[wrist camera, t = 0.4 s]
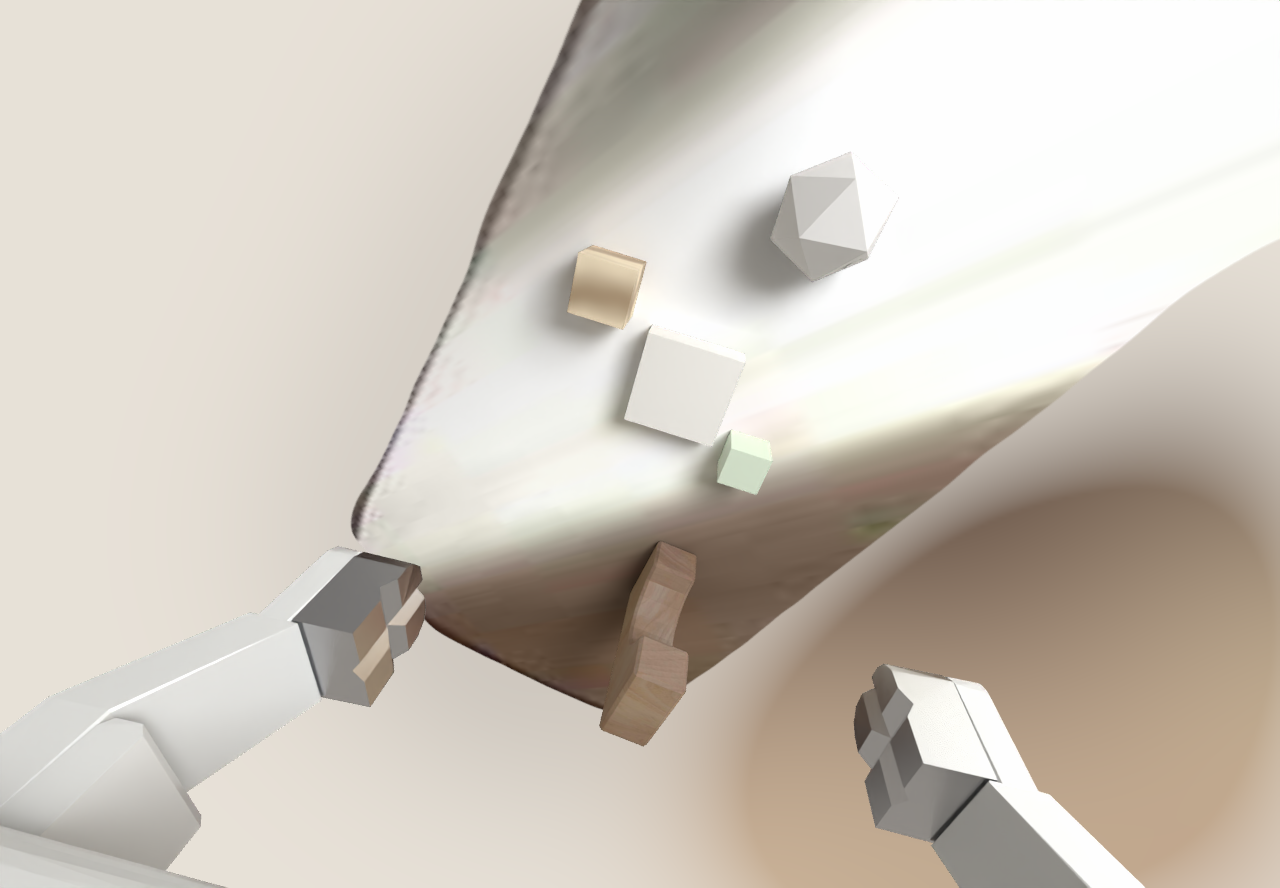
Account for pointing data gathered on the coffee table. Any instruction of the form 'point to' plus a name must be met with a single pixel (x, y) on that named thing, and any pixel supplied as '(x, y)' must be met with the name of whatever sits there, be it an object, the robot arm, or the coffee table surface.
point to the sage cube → (744, 462)
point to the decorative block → (650, 649)
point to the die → (832, 216)
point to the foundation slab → (684, 385)
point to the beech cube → (605, 286)
